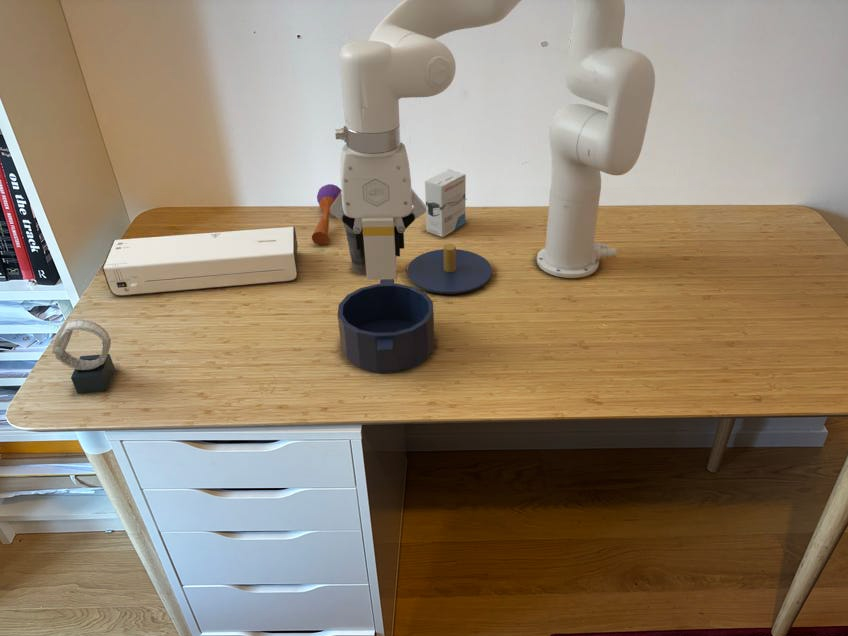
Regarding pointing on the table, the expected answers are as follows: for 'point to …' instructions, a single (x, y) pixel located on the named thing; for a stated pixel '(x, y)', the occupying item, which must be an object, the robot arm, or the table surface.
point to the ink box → (445, 202)
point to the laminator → (201, 261)
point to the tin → (386, 327)
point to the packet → (379, 248)
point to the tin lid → (449, 271)
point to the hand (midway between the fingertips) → (381, 251)
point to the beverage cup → (355, 252)
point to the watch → (86, 358)
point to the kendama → (325, 212)
